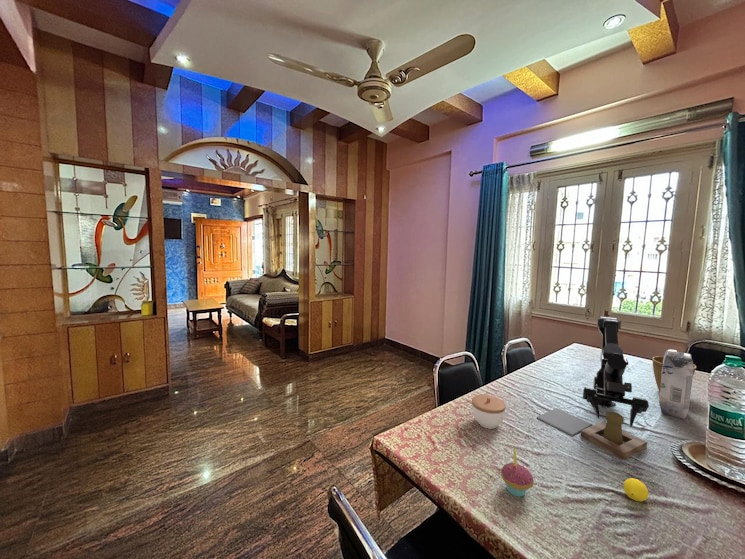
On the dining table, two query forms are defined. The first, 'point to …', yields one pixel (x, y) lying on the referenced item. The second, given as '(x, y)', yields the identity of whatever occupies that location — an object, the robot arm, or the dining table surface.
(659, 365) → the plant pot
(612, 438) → the cork
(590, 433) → the socket block
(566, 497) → the dining table surface
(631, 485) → the lemon
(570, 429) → the grey mat
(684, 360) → the juice carton
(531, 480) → the cupcake
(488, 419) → the lidded bowl
